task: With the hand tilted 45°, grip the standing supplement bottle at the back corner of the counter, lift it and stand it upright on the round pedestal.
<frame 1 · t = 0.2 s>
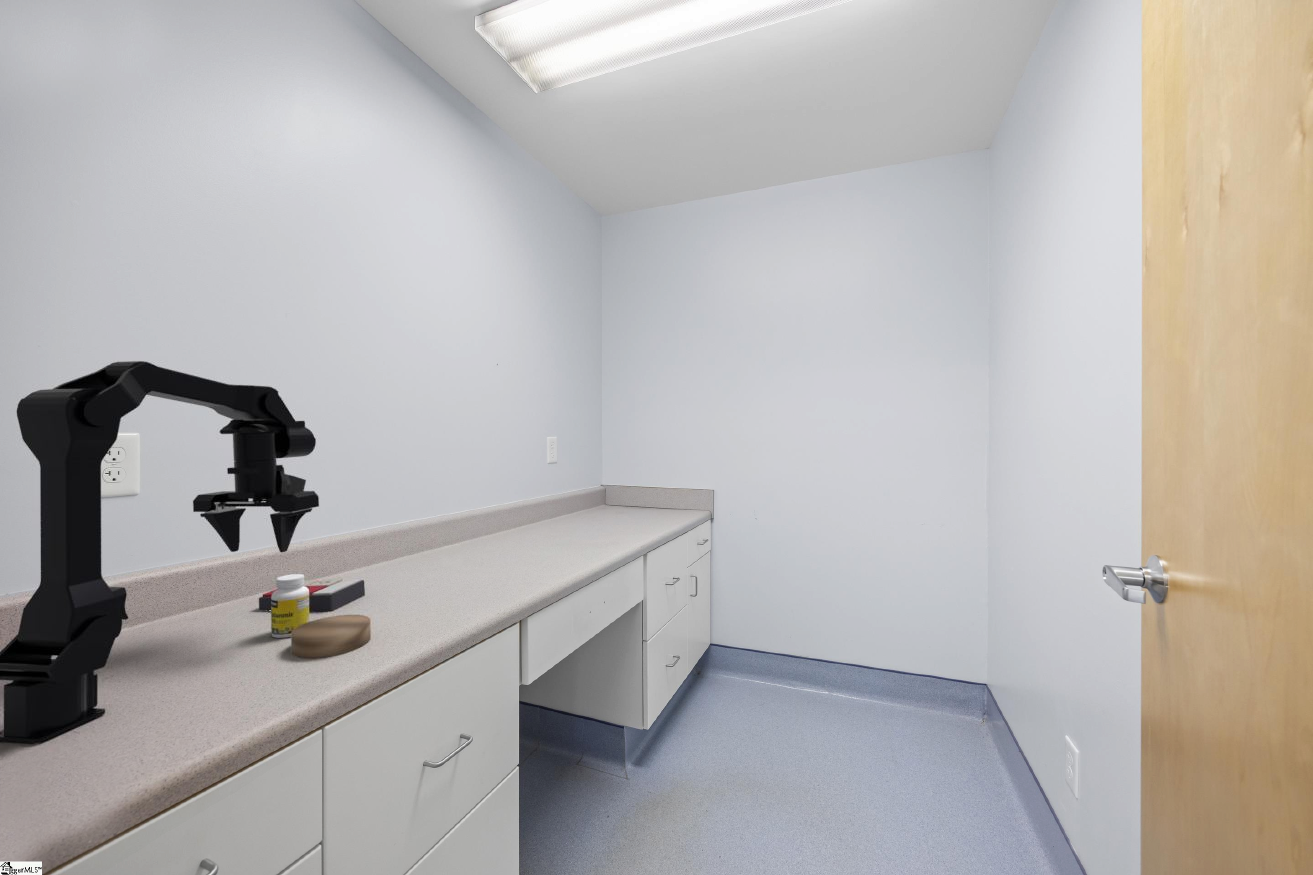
hand: (259, 551, 88), 15 cm above the countertop, tool pointing down, fingers open, 9 cm apart
red and grey box: (314, 605, 107), on the countertop
supplement bottle: (290, 634, 90), on the countertop
pedestal: (332, 644, 85), on the countertop
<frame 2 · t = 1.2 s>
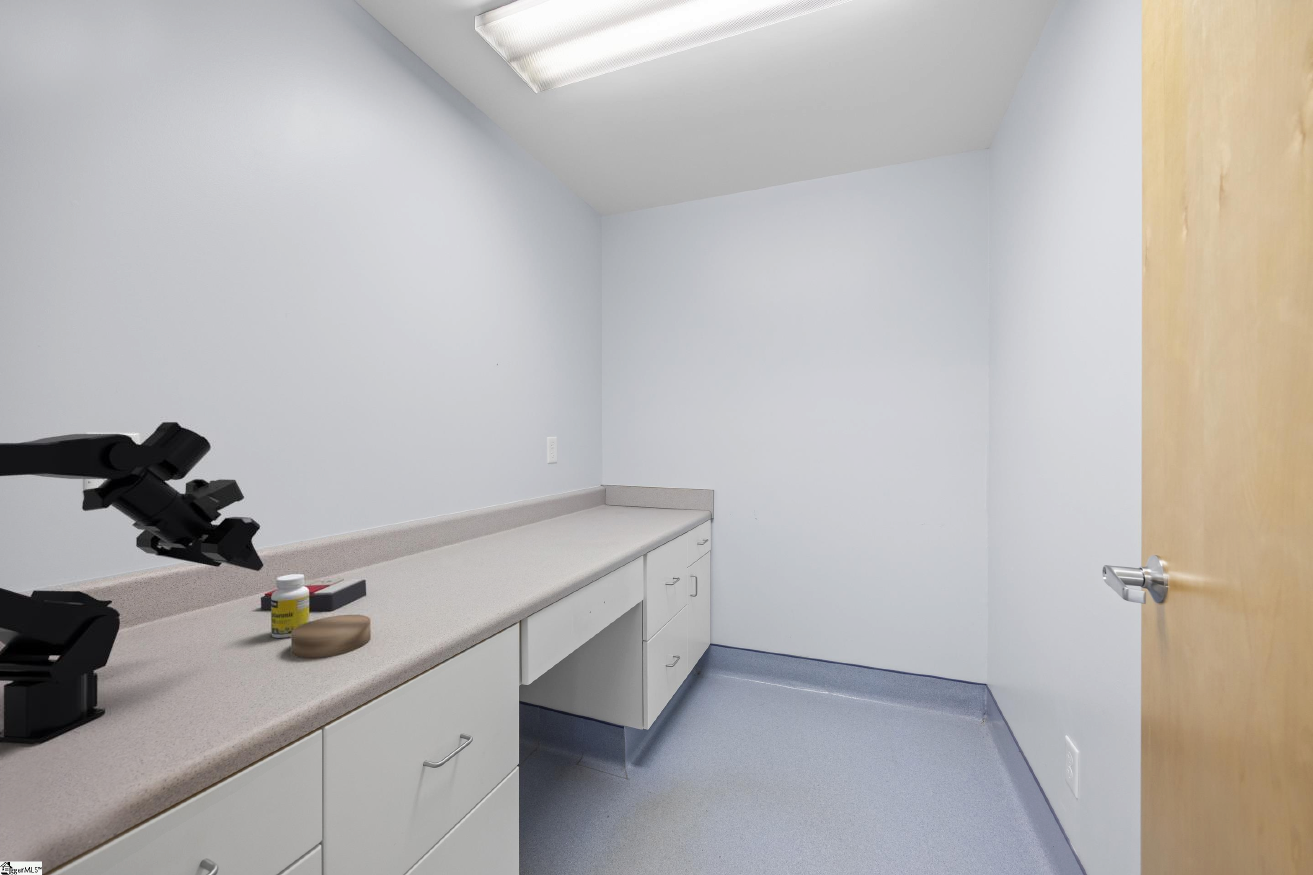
hand: (240, 566, 82), 13 cm above the countertop, tool tilted 45°, fingers open, 9 cm apart
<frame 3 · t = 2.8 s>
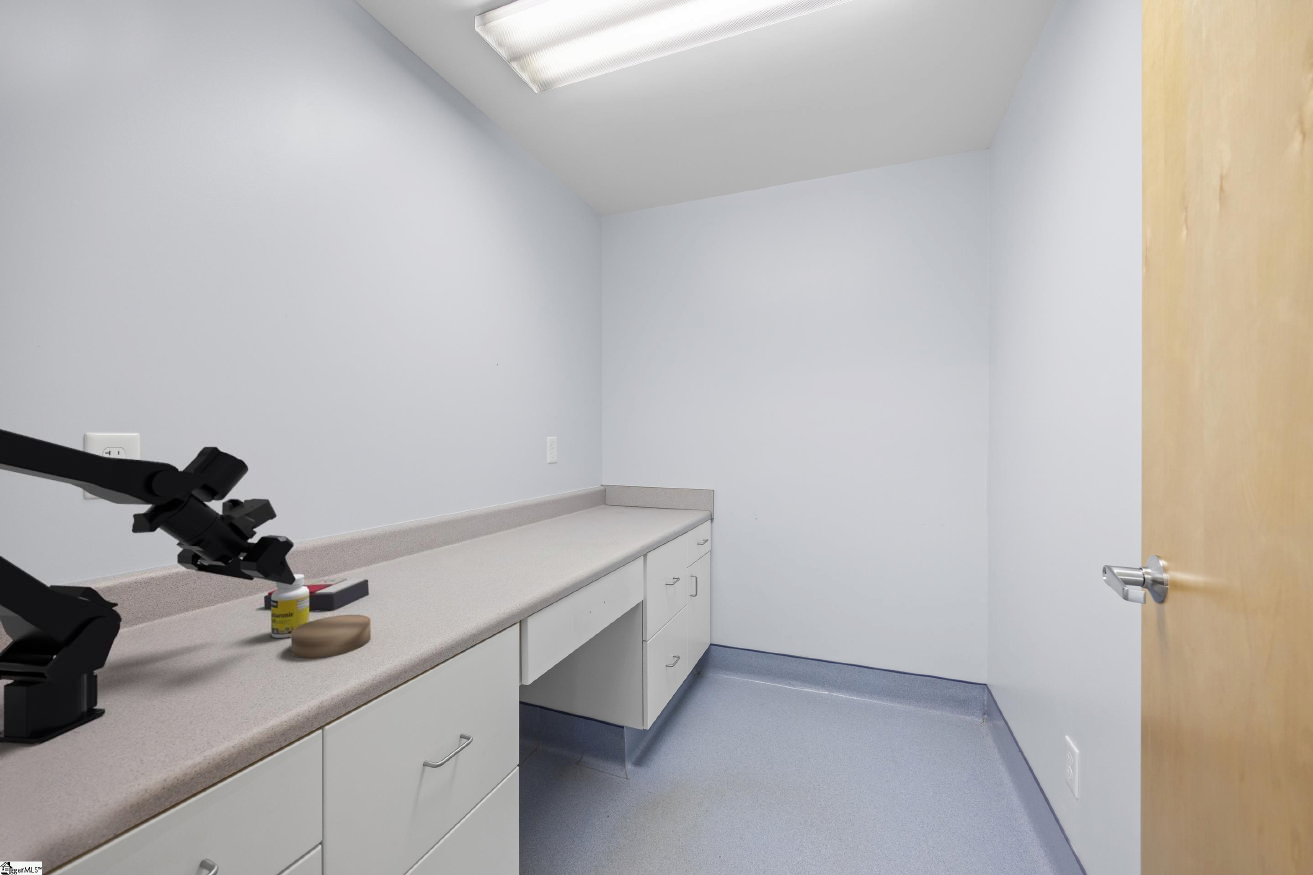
hand: (273, 579, 87), 10 cm above the countertop, tool tilted 45°, fingers open, 9 cm apart
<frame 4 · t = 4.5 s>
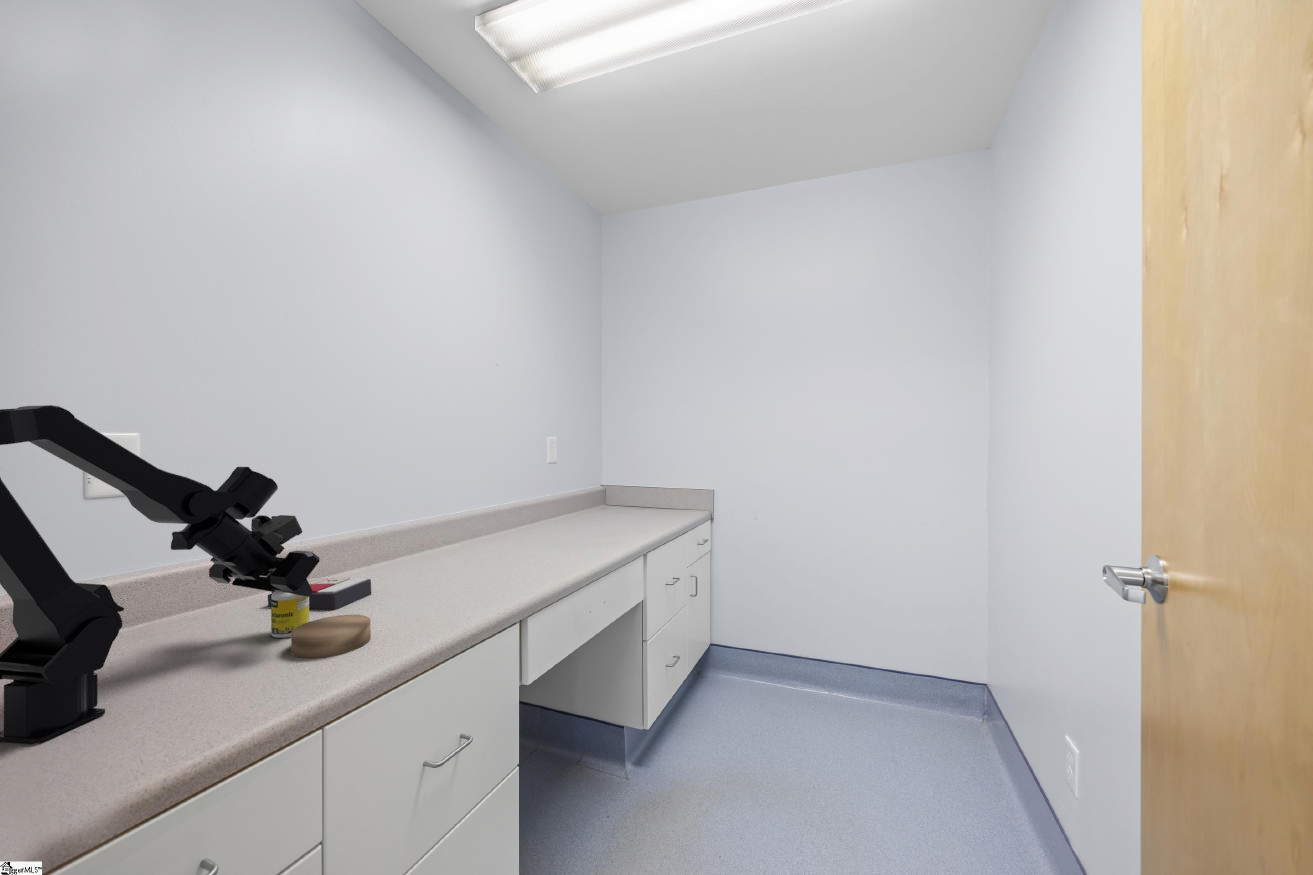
hand: (298, 592, 91), 7 cm above the countertop, tool tilted 45°, fingers closed on supplement bottle, 5 cm apart
supplement bottle: (290, 633, 90), on the countertop, touching gripper
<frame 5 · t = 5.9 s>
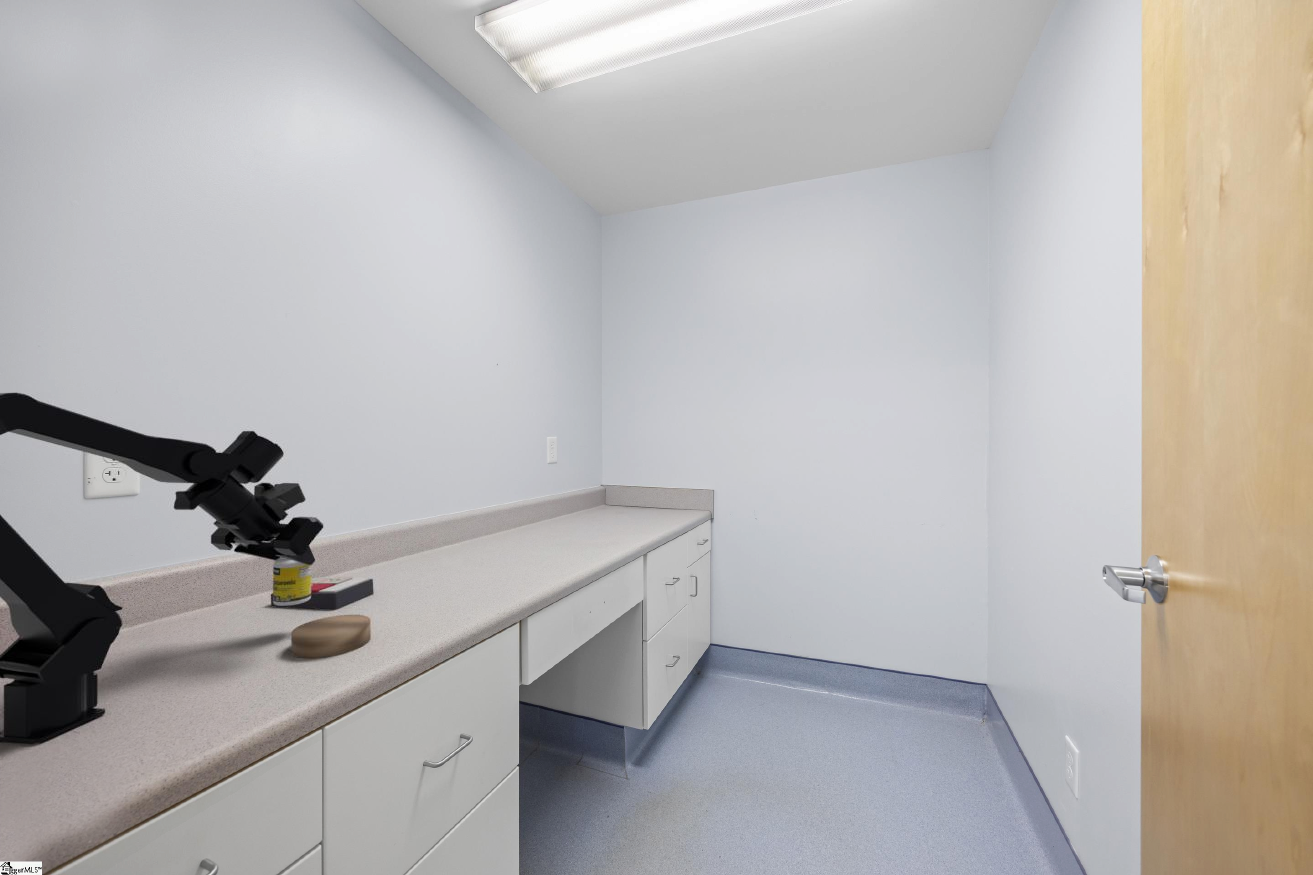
hand: (300, 561, 90), 12 cm above the countertop, tool tilted 45°, fingers closed on supplement bottle, 5 cm apart
supplement bottle: (292, 602, 89), point 5 cm above the countertop, touching gripper
when the fingers open (11 cm above the countertop, at t = 7.5 s): supplement bottle drops 1 cm, resting on pedestal.
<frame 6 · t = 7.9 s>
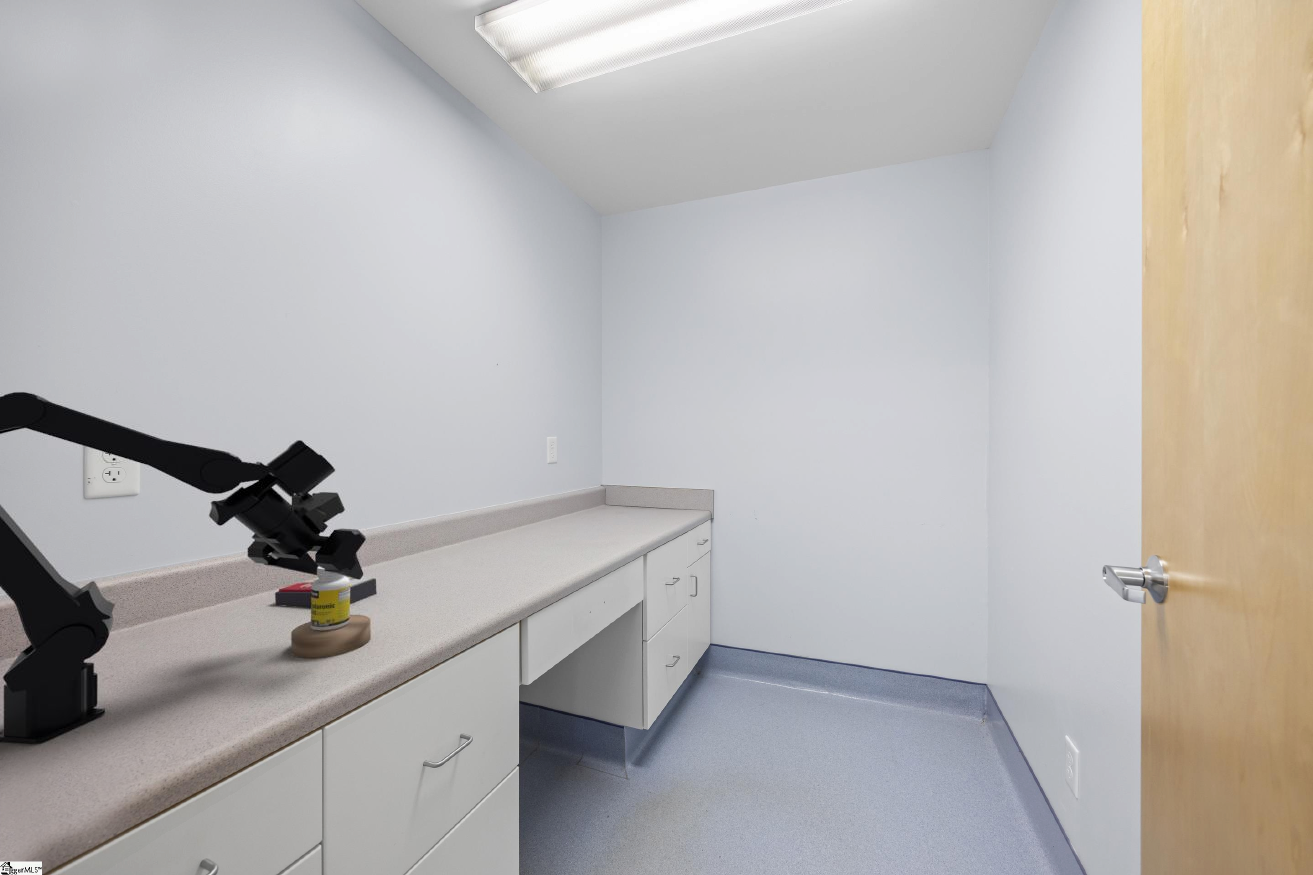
hand: (339, 574, 86), 11 cm above the countertop, tool tilted 45°, fingers open, 9 cm apart
supplement bottle: (330, 626, 84), point 3 cm above the countertop, touching pedestal
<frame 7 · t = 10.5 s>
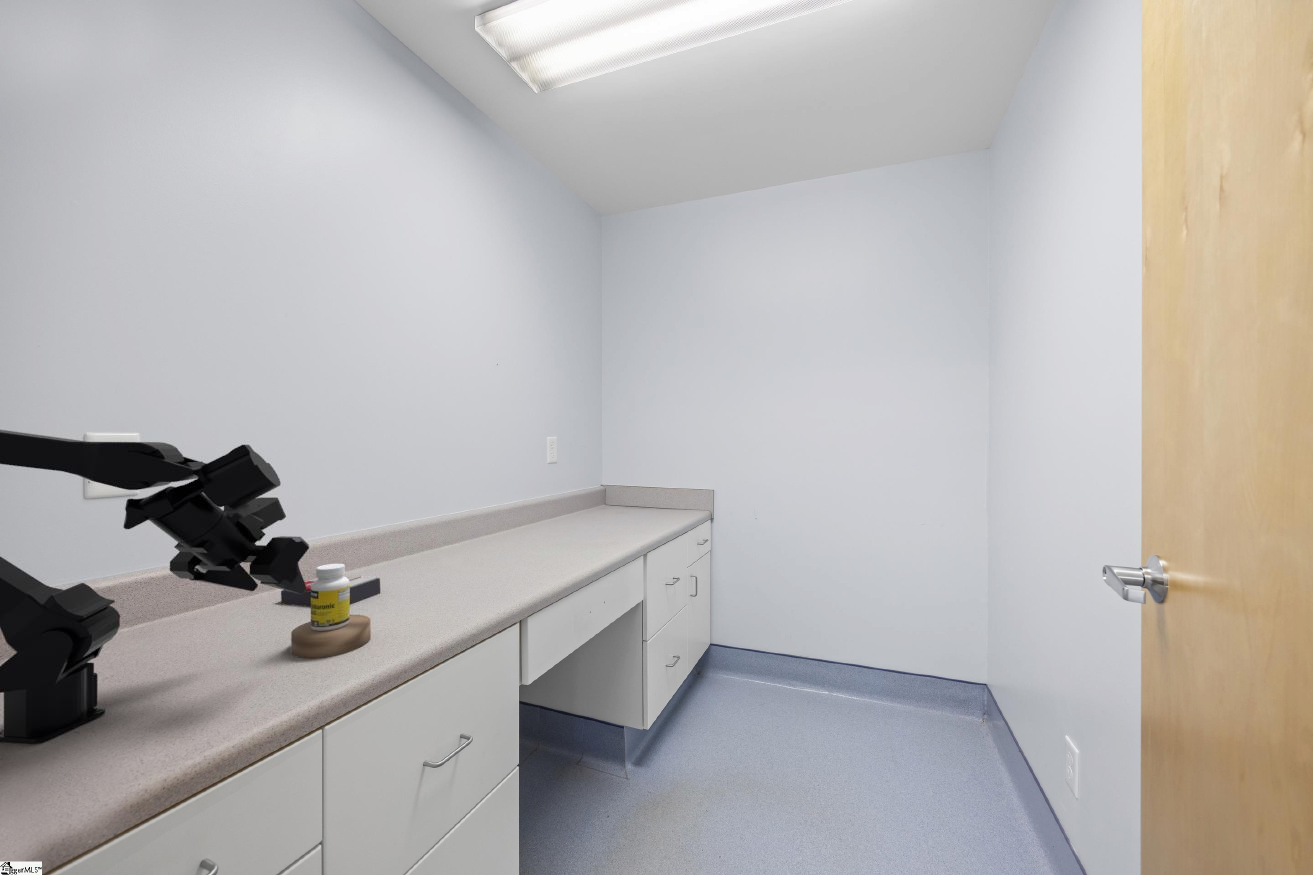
hand: (279, 589, 77), 11 cm above the countertop, tool tilted 45°, fingers open, 9 cm apart
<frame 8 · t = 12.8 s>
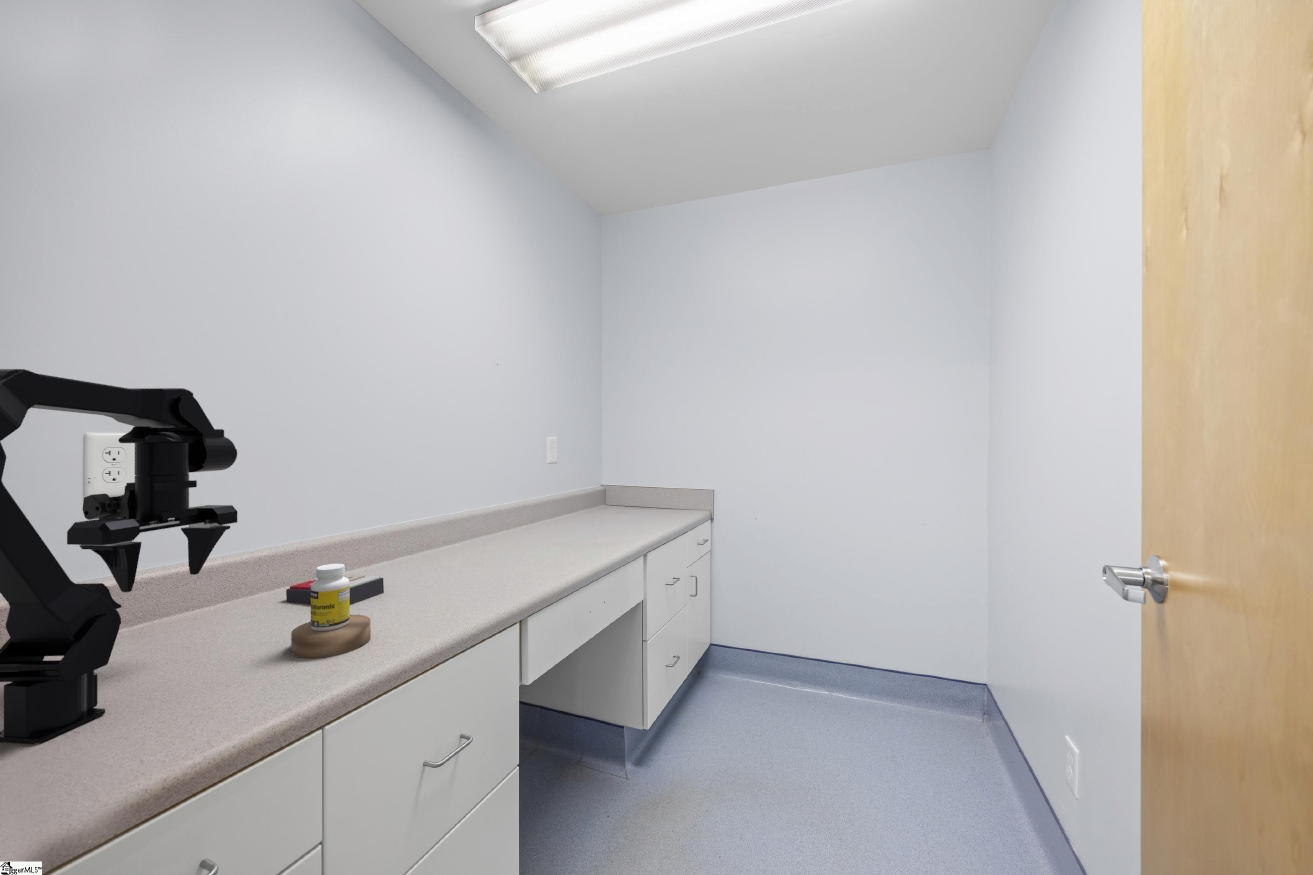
hand: (162, 582, 74), 13 cm above the countertop, tool pointing down, fingers open, 9 cm apart
at the end: supplement bottle 0.2 cm off-centre on the pedestal, point 2.8 cm above the pedestal's base; supplement bottle tilted 0°; the gripper is holding nothing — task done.
